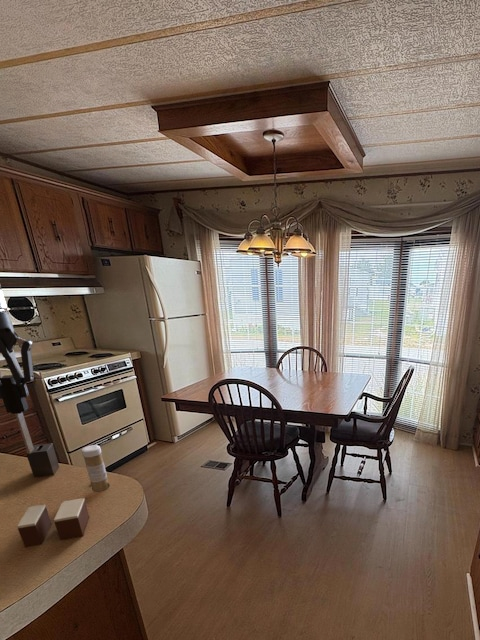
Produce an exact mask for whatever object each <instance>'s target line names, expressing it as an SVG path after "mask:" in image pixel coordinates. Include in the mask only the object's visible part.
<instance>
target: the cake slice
mask: <svg viewBox="0 0 480 640" xmlns="http://www.w3.org/2000/svg"><path fill="white" fill-rule="evenodd" d="M52 524H53V523H52V520H51V518H50V514H49V512H48V509H47V506H46V504H45V503H44V504H38V505H33V506H28V508H27V510H26V511H25V512H24V514H23V516H22V517H21V519H20V521H19V522H18V524H17V525H16V526H17V530H18V533H19V535H20V538H21V541H22V543H23V546H24V548H30V547H34V546H35V547H36V546H39V545H43V543H44V541H45V539H46V537H47V535H48V532H49V531H50V529H51V527H52Z"/></svg>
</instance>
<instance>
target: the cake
mask: <svg viewBox="0 0 480 640" xmlns="http://www.w3.org/2000/svg"><path fill="white" fill-rule="evenodd" d="M89 520H90V514H89V510H88V507H87V503H86V499H85V497H82V498H77V499H70V500H64V501H61V504H60V506H59V508H58V510H57V512H56V514H55V516H54V518H53V522H54V525H55V528H56V532H57V535H58V537H59V540H60V541H65V540H70V539H76V538H81V537H84V535H85V532H86V529H87V526H88V523H89Z"/></svg>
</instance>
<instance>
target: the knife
mask: <svg viewBox="0 0 480 640" xmlns="http://www.w3.org/2000/svg"><path fill="white" fill-rule="evenodd" d="M0 381H1V384H2V387H3V390H4V393H5V396H6V399H7V402H8V405H9V408H10V411H11V412H10V414H11V415H15V417H16V421H17V424H18V426H19V429H20V430H19V431H20V433H21V435H22V438H23V439H22V440H23V442H24V445H25V448H26V452H28V454H30V453H31V452H32V451H33V450H34V447H33V445H34V444H33V441H32V438H31V435H30V432H29V429H28V425H27V422H26V419H25V416H24V412H21V410H20V407H19V404H18V400H17V397H16V394H15V391H14V388H13V386H14V385H15V384H16V382H15V380H14V378H13V376H12V374H8V375H7V374H4V375H1V378H0Z"/></svg>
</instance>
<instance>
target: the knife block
mask: <svg viewBox="0 0 480 640" xmlns="http://www.w3.org/2000/svg"><path fill="white" fill-rule="evenodd" d="M33 447H34V450H33V451H32V452H31V453H30V454H28V451H26V453H25V454H26V455H25V456H26V457H27V460H28V463H29V467H30V470H31V473H32V475H33V478H34V479H36V478H43V477H44V478H45V477H51V476H55V475H56V473H57V471H58V469H59V468H60V464H59V461H58V457H57V455H56V450H55V447H54V443H52V442H51V443H42V444H33Z"/></svg>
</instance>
